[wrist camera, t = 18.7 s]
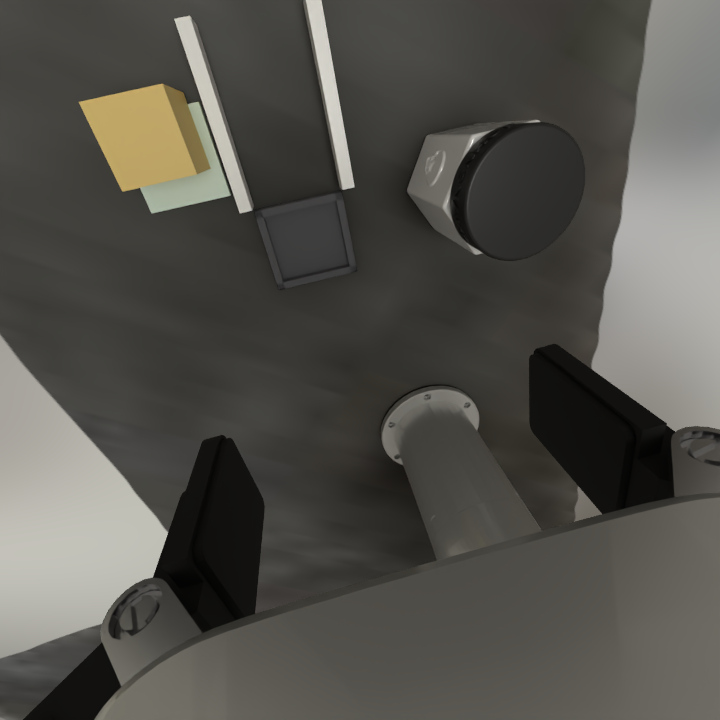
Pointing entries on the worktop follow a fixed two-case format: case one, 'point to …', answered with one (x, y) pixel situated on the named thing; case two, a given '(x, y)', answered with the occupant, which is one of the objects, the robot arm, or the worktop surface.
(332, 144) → the channel
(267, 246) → the tray
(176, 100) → the block
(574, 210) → the jar
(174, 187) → the coaster
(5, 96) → the worktop surface
